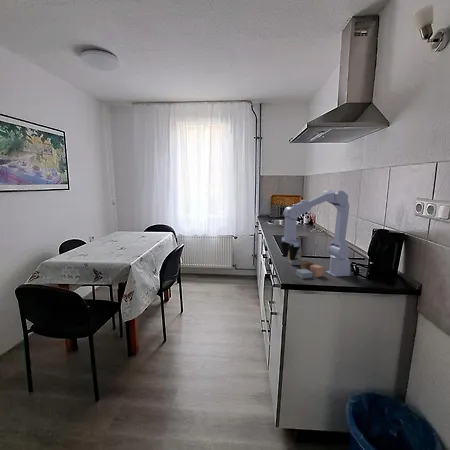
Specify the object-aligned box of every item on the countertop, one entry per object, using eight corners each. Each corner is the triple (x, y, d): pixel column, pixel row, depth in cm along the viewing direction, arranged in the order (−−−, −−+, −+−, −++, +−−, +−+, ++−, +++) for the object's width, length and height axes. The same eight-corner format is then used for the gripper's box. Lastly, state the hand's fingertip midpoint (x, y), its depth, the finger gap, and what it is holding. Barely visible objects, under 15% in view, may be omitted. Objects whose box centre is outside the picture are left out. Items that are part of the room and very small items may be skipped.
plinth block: (306, 274, 141) (306, 269, 140) (312, 278, 135) (312, 272, 135) (295, 275, 140) (296, 269, 139) (301, 279, 134) (301, 273, 133)
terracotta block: (315, 273, 142) (316, 264, 141) (322, 276, 138) (323, 266, 137) (309, 274, 140) (310, 265, 139) (316, 277, 136) (316, 268, 135)
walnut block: (308, 269, 149) (308, 260, 148) (312, 271, 145) (313, 263, 144) (300, 269, 148) (301, 261, 147) (304, 272, 144) (305, 263, 143)
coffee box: (301, 265, 157) (303, 238, 154) (291, 265, 156) (292, 238, 154) (296, 260, 166) (297, 235, 163) (286, 260, 165) (287, 235, 163)
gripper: (276, 228, 138) (275, 254, 140) (289, 233, 124) (287, 262, 126) (289, 228, 140) (287, 253, 142) (303, 233, 126) (301, 261, 128)
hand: (288, 257), depth 134 cm, fingers open, 7 cm apart
